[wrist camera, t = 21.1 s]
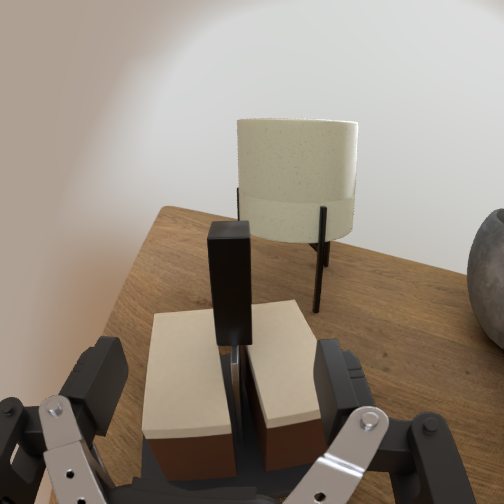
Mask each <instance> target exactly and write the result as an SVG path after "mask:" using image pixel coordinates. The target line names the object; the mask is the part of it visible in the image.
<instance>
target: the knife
mask: <svg viewBox="0 0 504 504" xmlns="http://www.w3.org/2000/svg"><path fill="white" fill-rule="evenodd" d="M207 246H208V259H209V271H210V283H211V294H212V305H213V316H214V326H215V335H216V344H217V346H231V373H232V385H233V396H234V407H235V418H236V428H237V439H238V445H243V390H242V372H241V353H240V345H252V344H253V337H252V290H251V242H250V225H249V221H248V220H247V221H214V222H212V223H211V227H210V230H209V234H208V237H207Z"/></svg>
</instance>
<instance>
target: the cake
mask: <svg viewBox="0 0 504 504" xmlns="http://www.w3.org/2000/svg"><path fill="white" fill-rule="evenodd" d="M252 337H253V344H252V345H240V353H241V372H242V390H243V445H238V439H237V428H236V418H235V407H234V396H233V385H232V373H231V354H227V355H220V353H219V346H217V344H216V335H215V326H214V316H213V309H205V310H194V311H182V312H169V313H155V315H154V322H153V329H152V336H151V343H150V351H149V359H148V367H147V376H146V386H145V396H144V407H143V418H142V431H143V447H142V470H141V478H143V479H149V480H156V481H162V482H165V483H168V484H171V485H173V486H176V487H179V488H182V489H185V490H188V491H200V490H207V489H213V488H220V487H256V494H260V495H264V496H267V497H271V498H273V499H275V498H281V497H286V496H289V495H290V494H291V492H292V491H293V490H294V489H295V488H296V486H297V485H298V484H299V482H300V481H301V480H302V479H303V477H304V476H305V475H306V473H307V472H308V471H309V469H310V468H311V467H312V465H313V464H314V463H315V461H316V460H317V459H318V458H319V457H320V456H321V455H324V454H325V453H326V451H327V450H328V448H329V447H330V446H326V441H325V435H324V430H323V425H322V420H321V415H320V410H319V405H318V400H317V395H316V390H315V385H314V379H313V367H314V360H315V353H316V345H317V340H316V338H315V336H314V334H313V333H312V331H311V329H310V327H309V325H308V324H307V322H306V320H305V318H304V316H303V314H302V313H301V311H300V309H299V307H298V305H297V304H296V302H295V300H289V301H281V302H272V303H264V304H255V305H252Z"/></svg>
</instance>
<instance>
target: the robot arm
mask: <svg viewBox="0 0 504 504" xmlns="http://www.w3.org/2000/svg"><path fill="white" fill-rule="evenodd" d="M127 378H128V364H127V361H126V358H125V354H124V351H123V348H122V345H121V342H120V339H119V338H118V337H107V336H101V337H100V338H99V339H98V341H97V343H96V344H95V346H94V347H89V348H88V349H87V350H86V351H85V352H83V353H82V354H81V356H80V358H79V359H78V361H77V364H75V366H74V368H73V371H71V373H70V375H69V376H68V379H67V380H66V382H65V384H64V385H63V387H62V389H61V391H60V393H59V394H58V395H54V396H50V397H48V398H46V399H45V400H44V401H43V402H42V403H41V405H40V406H32V407H24V406H23V404H22V403H21V401H20V400H19V399H17V398H15V397H9V398H6V399H4V400H2V401H1V402H0V504H34V502H35V499H36V496H37V492H38V489H39V486H40V483H41V480H42V477H43V474H44V471H45V468H46V467H47V470H48V474H49V476H50V480H51V483H52V486H53V490H54V493H55V495H56V498H57V501H58V504H346V503H347V501H348V500H349V498H350V497H351V495H352V493H353V492H354V490H355V488H356V487H357V485H358V483H359V482H360V480H361V478H362V477H363V475H364V473H365V471H366V470H367V471H378V472H389V475H390V479H391V484H392V488H393V493H394V498H395V503H396V504H476V501H475V498H474V495H473V491H472V488H471V486H470V483H469V480H468V477H467V474H466V471H465V468H464V466H463V463H462V460H461V458H460V455H459V452H458V450H457V447H456V445H455V442H454V440H453V437H452V435H451V432H450V430H449V427H448V425H447V423H446V421H445V419H444V418H443V417H442V416H440V415H439V414H437V413H434V412H423V413H420V414H418V415H417V416H416V417H415V418H414V419H413V421H409V420H397V419H392V418H389V417H387V415H386V414H385V413H384V412H383V411H382V410H380V409H378V408H377V407H376V405H375V402H374V400H373V397H372V394H371V391H370V389H369V386H368V383H367V381H366V378H365V375H364V373H363V370H362V367H361V365H360V362H359V360H358V358H357V357H356V356H355V355H354V354H353V353H352V352H351V351H350V350H347V351H341V349H340V346H339V343H338V340H337V339H321V340H318V341H317V345H316V353H315V360H314V367H313V379H314V385H315V390H316V395H317V400H318V405H319V410H320V415H321V420H322V425H323V430H324V435H325V441H326V446H330V447H329V448H328V450H327V451H326V453H325V454H324V455H321V456H320V457H319V458H318V459H317V460H316V461H315V463H314V464H313V465H312V467H311V468H310V469H309V471H308V472H307V473H306V475H305V476H304V477H303V479H302V480H301V481H300V482H299V484H298V485H297V486H296V488H295V489H294V490H293V491H292V492H291V494H290V495H289V496H288V497H287V499H286V500H285V501H284V502H283V503H281V502H280V501H278V500H275V499H273V498H271V497H267V496H264V495H260V494H256V487H220V488H213V489H207V490H200V491H188V490H185V489H182V488H179V487H176V486H173V485H171V484H168V483H165V482H162V481H156V480H149V479H143V478H137V477H133V481H132V484H128V485H122V486H118V487H116V486H115V484H114V483H113V481H112V480H111V478H110V476H109V474H108V472H107V470H106V468H105V466H104V464H103V461H102V459H101V457H100V455H99V452H98V450H97V448H96V445H95V443H94V441H93V439H94V437H95V435H99V436H104V437H105V436H106V433H107V430H108V427H109V425H110V422H111V419H112V417H113V414H114V411H115V409H116V406H117V403H118V401H119V398H120V396H121V393H122V391H123V388H124V386H125V383H126V381H127ZM16 444H18V445H19V448H18V450H17V452H16V455H15V458H14V460H13V462H12V465H11V464H10V459H11V456H12V453H13V451H14V449H15V446H16Z"/></svg>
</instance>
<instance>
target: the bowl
mask: <svg viewBox="0 0 504 504" xmlns="http://www.w3.org/2000/svg"><path fill="white" fill-rule="evenodd" d="M467 285H468V292H469V298H470V302H471V305H472V308H473V311H474V313H475V316H476V318H477V320H478V322H479V324H480V325H481V327H482V328H483V330H484V331H485V333H486V334H487V336H488V337H489V338H490V339H491V340H493V341H494V342H495V343H496V344H497V345H498V346H499V347H501V348H502V349H503V350H504V209H497V210H494V211H493V212H492V213H491V214H490V215H489V216H488V217H487V218H486V219H485V221H484V222H483V223H482V225H481V226H480V228H479V230H478V232H477V234H476V236H475V239H474V242H473V244H472V247H471V250H470V254H469V259H468V267H467Z"/></svg>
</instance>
